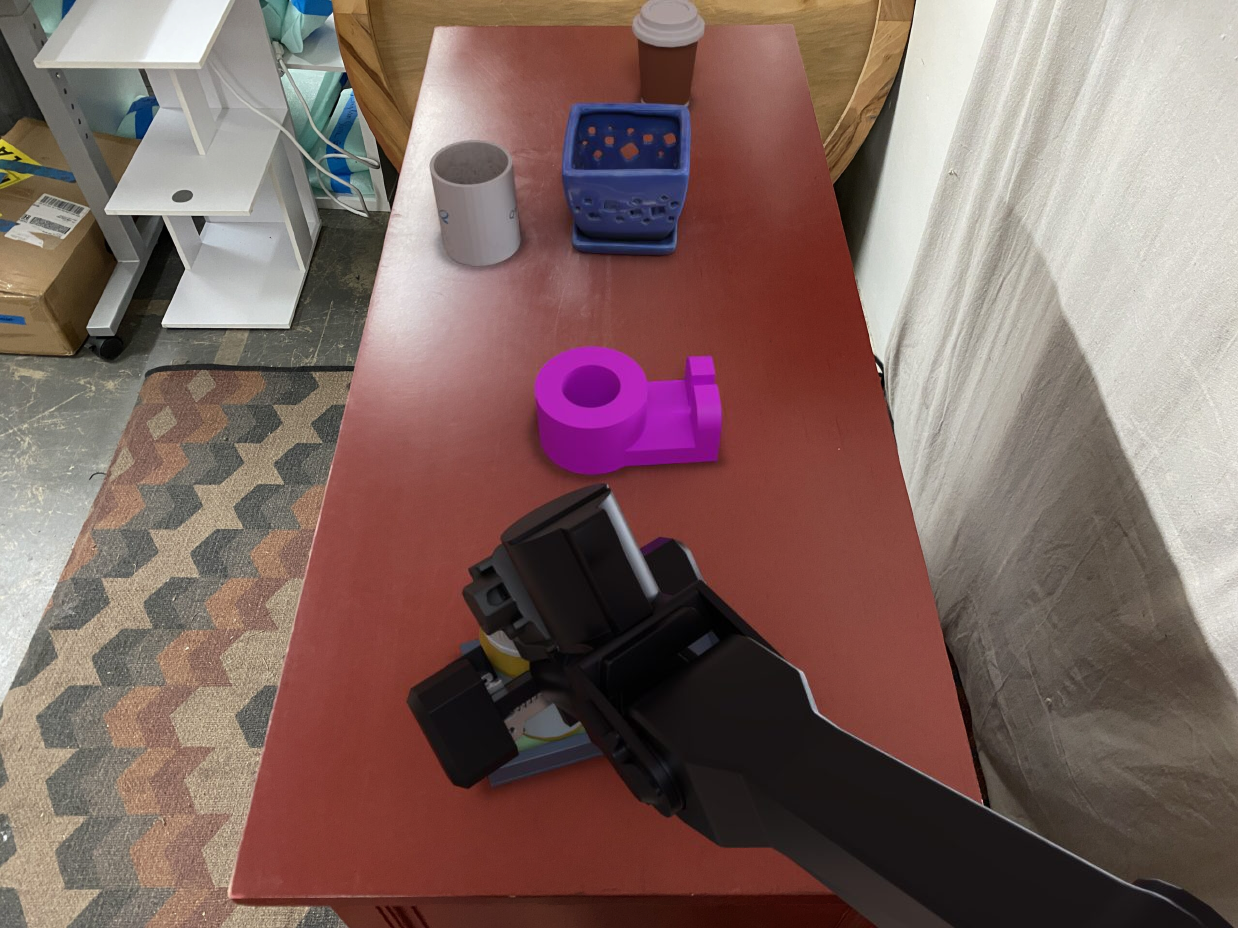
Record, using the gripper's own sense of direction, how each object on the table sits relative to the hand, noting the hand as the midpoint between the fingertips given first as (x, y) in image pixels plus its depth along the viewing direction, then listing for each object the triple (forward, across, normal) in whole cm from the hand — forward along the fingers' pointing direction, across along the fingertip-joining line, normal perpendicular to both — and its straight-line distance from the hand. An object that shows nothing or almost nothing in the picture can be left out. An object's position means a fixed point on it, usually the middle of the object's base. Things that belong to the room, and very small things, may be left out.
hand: (525, 632), depth 62 cm
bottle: (+4, 0, +7) cm, 8 cm away
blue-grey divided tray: (+5, -4, +8) cm, 11 cm away
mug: (+42, -26, -30) cm, 57 cm away
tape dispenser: (+19, -21, -6) cm, 28 cm away
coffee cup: (+49, -59, -37) cm, 85 cm away
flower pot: (+36, -39, -23) cm, 57 cm away
